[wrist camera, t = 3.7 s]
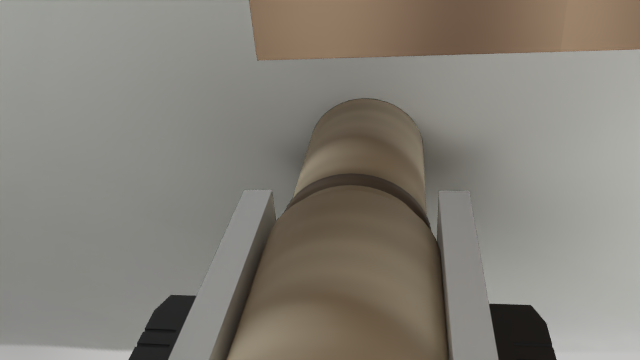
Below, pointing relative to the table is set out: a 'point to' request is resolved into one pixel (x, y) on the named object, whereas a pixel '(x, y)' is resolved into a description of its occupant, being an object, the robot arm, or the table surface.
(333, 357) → the beech leg
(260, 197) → the robot arm
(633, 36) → the seat board
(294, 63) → the table surface
